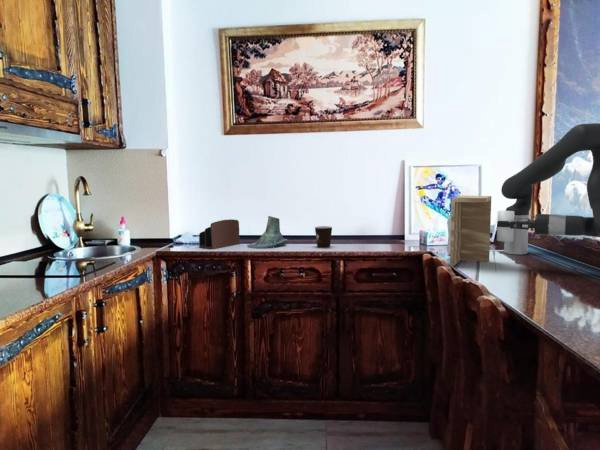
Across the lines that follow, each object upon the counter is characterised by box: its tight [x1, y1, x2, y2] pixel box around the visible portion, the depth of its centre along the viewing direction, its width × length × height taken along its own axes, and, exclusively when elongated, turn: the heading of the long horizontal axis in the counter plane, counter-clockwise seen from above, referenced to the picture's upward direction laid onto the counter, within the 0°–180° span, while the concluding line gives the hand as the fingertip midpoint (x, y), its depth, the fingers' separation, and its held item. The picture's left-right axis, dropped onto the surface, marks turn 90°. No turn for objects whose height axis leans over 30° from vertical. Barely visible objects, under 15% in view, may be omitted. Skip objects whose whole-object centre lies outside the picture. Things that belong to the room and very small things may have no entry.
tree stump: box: [247, 215, 288, 250], centre depth 224 cm, size 18×20×18 cm
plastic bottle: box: [446, 215, 451, 256], centre depth 187 cm, size 6×7×20 cm
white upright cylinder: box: [496, 210, 514, 243], centre depth 161 cm, size 6×6×11 cm
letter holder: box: [198, 218, 241, 250], centre depth 225 cm, size 10×20×14 cm, turn 144°
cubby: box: [449, 195, 492, 268], centre depth 168 cm, size 17×12×26 cm
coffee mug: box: [314, 225, 333, 249], centre depth 218 cm, size 12×9×10 cm
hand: (498, 223), depth 162 cm, fingers closed on white upright cylinder, 5 cm apart
